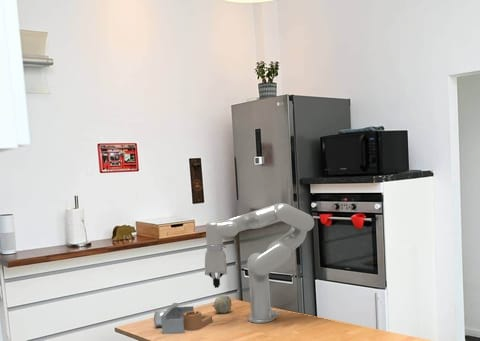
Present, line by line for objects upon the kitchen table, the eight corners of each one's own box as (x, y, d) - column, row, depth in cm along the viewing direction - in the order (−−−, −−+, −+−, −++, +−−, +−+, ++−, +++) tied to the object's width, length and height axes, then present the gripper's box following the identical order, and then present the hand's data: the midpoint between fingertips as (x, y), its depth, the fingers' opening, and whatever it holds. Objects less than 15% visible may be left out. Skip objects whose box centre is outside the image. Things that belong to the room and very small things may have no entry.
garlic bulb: (231, 316, 249) (236, 297, 249) (223, 317, 241) (229, 298, 242) (216, 309, 253) (221, 291, 253) (208, 310, 245) (214, 291, 246)
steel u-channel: (194, 318, 239) (193, 302, 240) (183, 332, 216) (182, 314, 216) (162, 319, 241) (161, 303, 241) (149, 334, 217) (148, 316, 217)
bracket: (196, 331, 217) (195, 316, 218) (180, 330, 221) (179, 315, 221) (215, 320, 233) (214, 306, 234) (200, 319, 237) (200, 305, 237)
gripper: (231, 246, 231) (233, 285, 230) (200, 247, 232) (202, 286, 231) (229, 248, 223) (231, 288, 222) (197, 249, 225) (199, 289, 224)
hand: (216, 287), depth 227 cm, fingers closed
